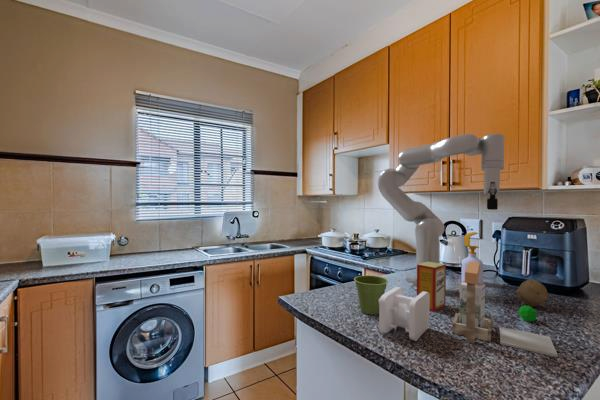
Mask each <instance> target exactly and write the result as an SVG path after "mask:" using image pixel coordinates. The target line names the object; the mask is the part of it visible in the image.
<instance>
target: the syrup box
mask: <svg viewBox="0 0 600 400" xmlns="http://www.w3.org/2000/svg"><path fill="white" fill-rule="evenodd" d="M485 302H486V284H485V283H483V284H482V283H477V285H476V284H475V327H479V328H484V329H485V319H486V317H485V310H486V303H485ZM466 309H467V283H465V281H463V282H462V281H461V282H460V283H459V314H460V324H465V325H466Z"/></svg>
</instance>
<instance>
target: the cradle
mask: <svg viewBox="0 0 600 400" xmlns="http://www.w3.org/2000/svg"><path fill="white" fill-rule="evenodd" d="M452 334H455V335H459V336H465V342H466V343H469V344H473V345H475V342H476V339H477V340H482V341H485V342H490V343H491V342H492V319H489V318H485V329H484V328H479V327H475V284H469V283H467V309H466V325H465V324H460V312H458V313H457V312H455V315H454V317H453V320H452Z"/></svg>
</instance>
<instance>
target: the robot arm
mask: <svg viewBox="0 0 600 400" xmlns="http://www.w3.org/2000/svg"><path fill="white" fill-rule="evenodd" d="M462 154H464V155H465V156H469V157H473V156H480V155H481V159H480V160H481V161H480V162H481V163H480V165H481V166H480V167H481V169H480V171H483V172H484V174H483V195H486V194H487V199H486V209H487V210H493V211H495V210H498V202H499V201H498V194H499V192H500V185H501V171H502V170H505V137H504V135H503V134H502V133H490V134H486V135H484V136H482V137H478V136H476V135H474V134H473V133H472V134H471V133H465V134H459V135H455V136H452V137H446V138H444V139H441V140H438V141H435V142H433V143H429V144H425V145H419V146H415V147H410V148H406V149H403V150H401V151H400V153H399V154H398V155H397V161H398V163H399V165H398V166H397V167H396V169H395V168H387V169H386V168H385V169H384V170H382V171H381V173H380V174H379V176H378V179H377V186H378V190H379V192H380V194H381V195H382V197H383V198H384V199H385V200H386V201H387V202H388V203H389V204H390V206H392V208H393V209H394V210H395V211H396V213H397V212H398V214H399V215H400V216H401V217H402V218H403V220H404V221H407V222H410V223H411V222H413V223H414V224H415V229H414V230H415V231H414V234H415V243H416V248H415V249H416V250H415V251H416V256H415V257H416V261H415V263H416V265H415V269H416V270H415V271H416V272H415V273H416V274H415V277H409V276H407V277H406V279H405V280H406V282H407V283H410V284H411V283H412V287H411V288H412V289H413V290H415V291H417V265H418V264H420V263H423V262H435V263H441V262H440V261H441V260H440V259H441V257H440V253H441V252H440V251H441V250H440V249H441V248H440V237H441V236H442V235H443V234H444V232H445V224H444V222H443V221H442V220H441V219H440V218H439V217H438V216H437V215H436V214H435V213H434V212H433V211H432V210H431V209H430V208H429V207H428V206H427V205H425V204H424V203H423V202H420V201H415V200H414V199H412V198H411V197H409V195H407V193H406V192H405V191H403V190H402V189H401V188H400V187H402V186H404V185H405V184H406V183H407V182H408V181H409V180H410V179H411V178H412V176H414V174H415V173H416V172H417V171H418V170H419V168H420V166H424V165H429V164H435V163H438V162H440V161H441V160H442V159H445V158H447V157H451V156H456V155H457V156H458V155H462Z"/></svg>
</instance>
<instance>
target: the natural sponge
mask: <svg viewBox="0 0 600 400" xmlns="http://www.w3.org/2000/svg"><path fill="white" fill-rule="evenodd" d="M548 293H549V292H548V290H547V288H546V286H544V285H543V284H542V282H540V281H538V280H536V279H527V280H525V281H523V282H522V283H521V284H520V285H519V287H518V288H517V290H516V296H517V298H518V299H519V300H520V301H522V302H524V303H525V304H526V305H527V306H530V307H537V306H539V305H541V304H542V303H544V302H546V300H548V297H549V295H548Z"/></svg>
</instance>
